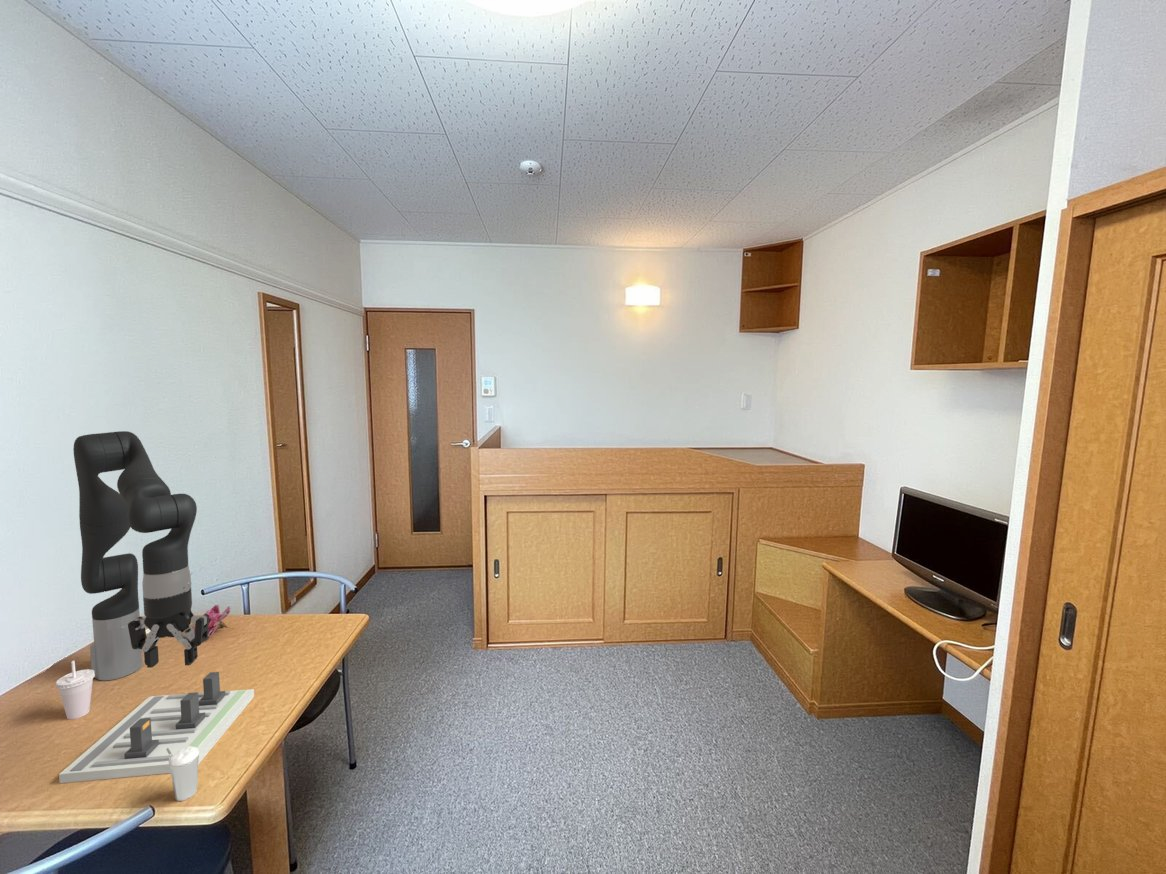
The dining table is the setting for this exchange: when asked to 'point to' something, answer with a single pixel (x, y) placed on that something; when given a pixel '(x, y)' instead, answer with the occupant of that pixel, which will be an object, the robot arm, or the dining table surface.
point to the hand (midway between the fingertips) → (171, 664)
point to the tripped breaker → (141, 739)
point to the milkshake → (184, 772)
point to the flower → (216, 619)
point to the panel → (162, 732)
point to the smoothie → (76, 692)
